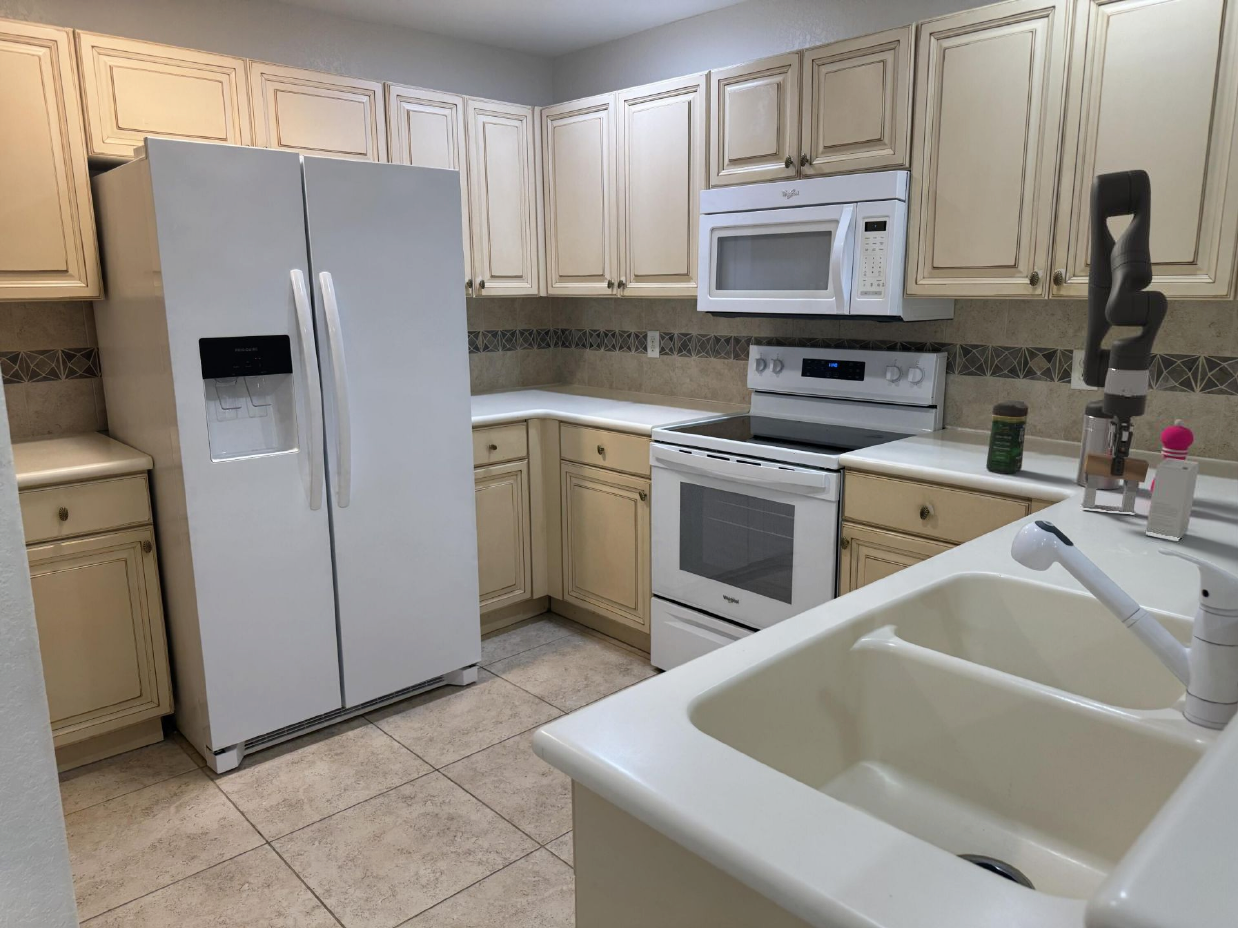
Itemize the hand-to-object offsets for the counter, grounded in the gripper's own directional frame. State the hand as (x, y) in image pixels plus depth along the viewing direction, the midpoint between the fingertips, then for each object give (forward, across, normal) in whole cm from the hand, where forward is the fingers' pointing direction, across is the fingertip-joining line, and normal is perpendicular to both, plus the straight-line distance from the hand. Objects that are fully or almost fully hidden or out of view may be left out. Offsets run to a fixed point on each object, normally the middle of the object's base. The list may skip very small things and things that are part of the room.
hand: (1115, 472), depth 179 cm
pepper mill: (+11, -17, +13) cm, 24 cm away
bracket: (+10, -8, +1) cm, 13 cm away
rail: (+1, 0, 0) cm, 1 cm away
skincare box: (+10, +7, +9) cm, 16 cm away
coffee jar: (+11, -44, -20) cm, 50 cm away
